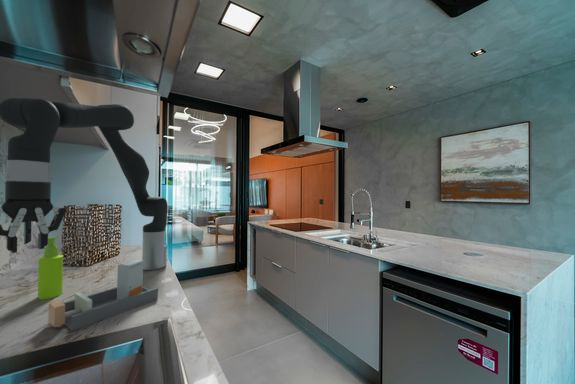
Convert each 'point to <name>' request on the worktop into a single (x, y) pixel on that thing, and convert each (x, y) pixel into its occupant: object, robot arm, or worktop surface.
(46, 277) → the soap dispenser
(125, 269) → the skincare box
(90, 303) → the pusher
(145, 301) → the pusher lane
